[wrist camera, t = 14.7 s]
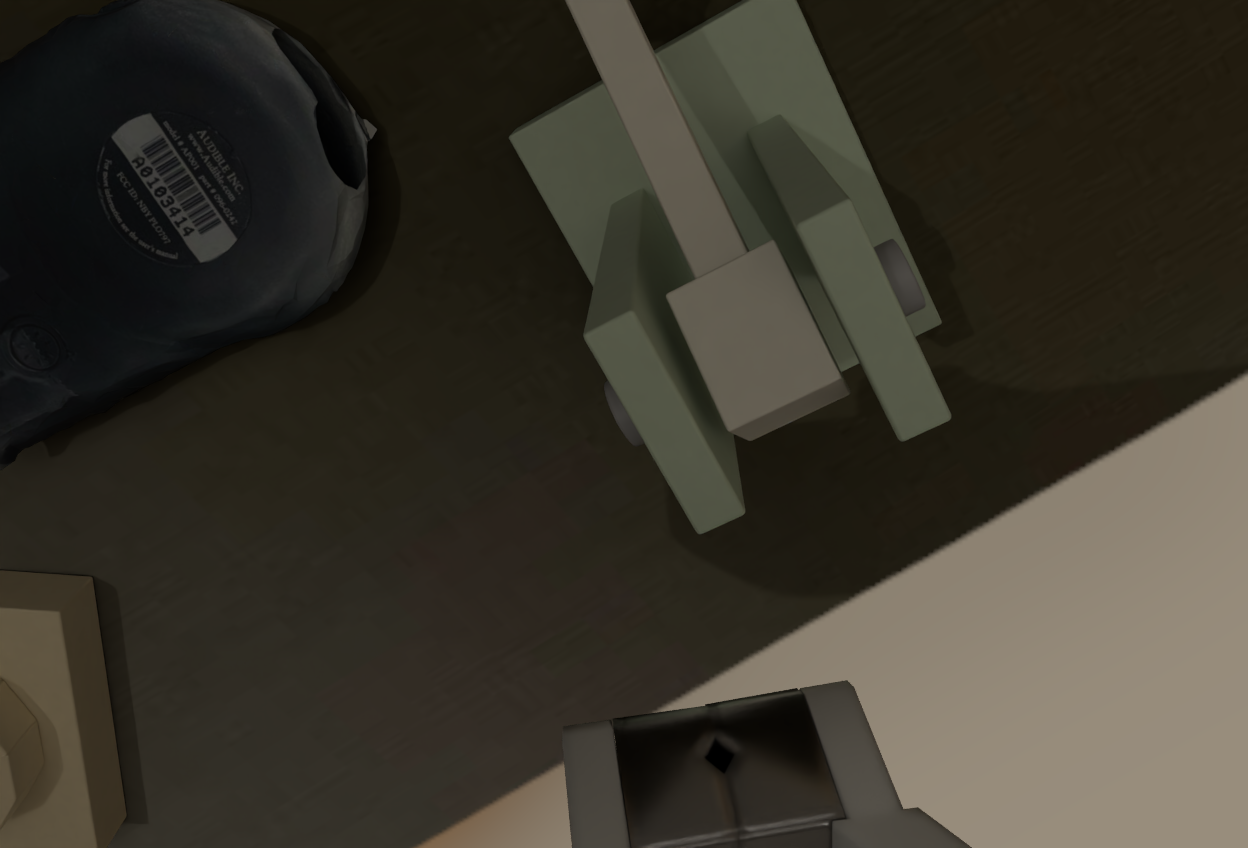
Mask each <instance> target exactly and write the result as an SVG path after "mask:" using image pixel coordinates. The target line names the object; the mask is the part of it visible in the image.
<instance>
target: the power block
mask: <svg viewBox="0 0 1248 848" xmlns="http://www.w3.org/2000/svg"><path fill="white" fill-rule="evenodd" d="M126 816H127V814H126V807H125V800H124V793H123V786H122V779H121V772H120V765H119V758H118V751H117V744H116V737H115V730H114V723H113V716H112V709H111V702H110V695H109V688H108V682H107V675H106V668H105V661H104V654H103V647H102V640H101V633H100V626H99V619H98V612H97V605H96V598H95V591H94V584H93V578H92V577H90V576H75V575H61V574H47V573H32V572H18V571H3V570H0V848H107V846H108V845H109V843H110V842H111V840H112V839H113V837H114V835H115V834H116V832H117V831H118V829H119V827H120V826H121V824H122V823H123V821H124V820H125V818H126Z"/></svg>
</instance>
